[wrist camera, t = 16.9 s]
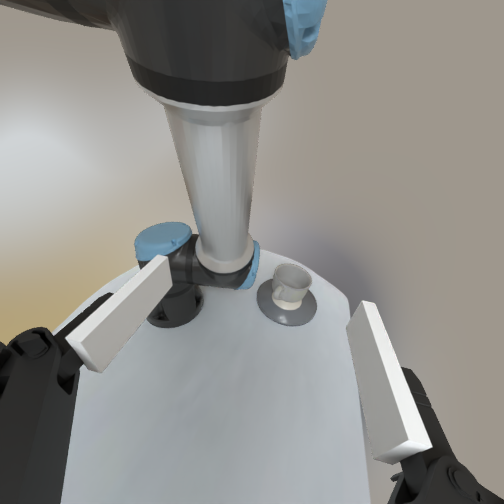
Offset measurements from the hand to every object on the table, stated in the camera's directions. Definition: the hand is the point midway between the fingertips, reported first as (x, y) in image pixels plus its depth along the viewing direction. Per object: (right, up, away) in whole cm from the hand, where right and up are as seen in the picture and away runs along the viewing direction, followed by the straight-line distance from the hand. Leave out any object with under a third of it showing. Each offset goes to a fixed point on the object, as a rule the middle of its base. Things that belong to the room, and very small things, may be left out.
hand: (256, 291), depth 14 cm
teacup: (+9, -11, +47) cm, 49 cm away
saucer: (+10, -12, +47) cm, 49 cm away
